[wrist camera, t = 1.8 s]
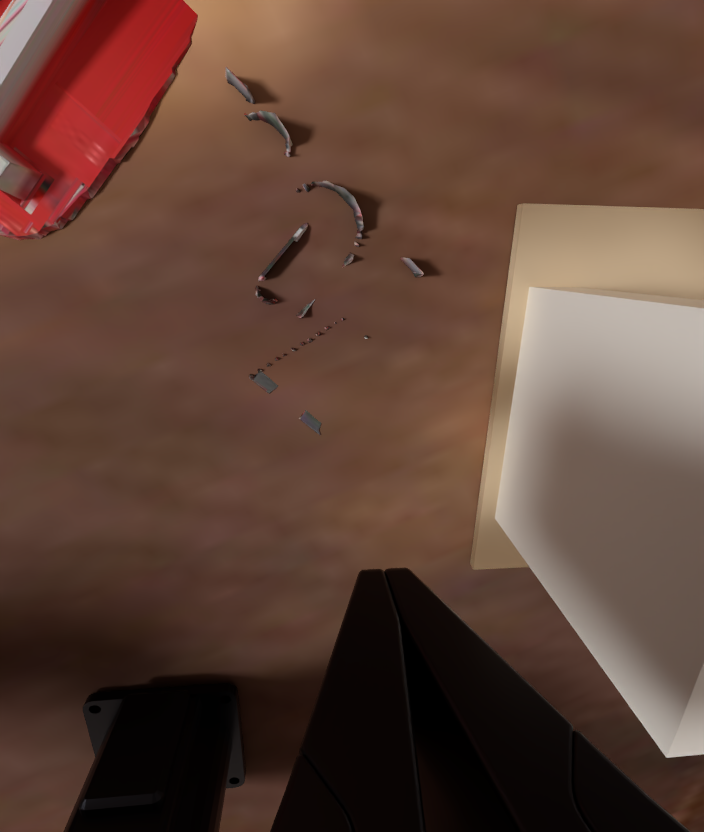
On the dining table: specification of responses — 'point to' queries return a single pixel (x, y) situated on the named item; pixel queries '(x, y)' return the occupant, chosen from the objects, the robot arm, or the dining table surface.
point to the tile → (616, 489)
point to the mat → (587, 268)
